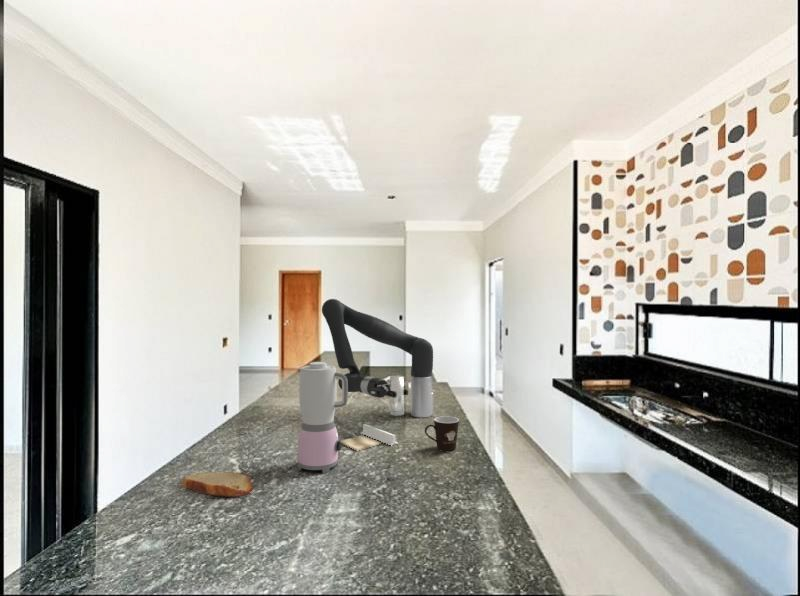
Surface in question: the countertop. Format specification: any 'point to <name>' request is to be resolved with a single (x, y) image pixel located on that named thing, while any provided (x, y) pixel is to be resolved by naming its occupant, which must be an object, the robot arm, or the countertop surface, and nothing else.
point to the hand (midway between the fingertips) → (401, 393)
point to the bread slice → (219, 484)
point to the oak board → (359, 442)
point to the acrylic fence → (379, 435)
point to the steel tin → (397, 395)
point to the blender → (319, 416)
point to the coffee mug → (445, 432)
